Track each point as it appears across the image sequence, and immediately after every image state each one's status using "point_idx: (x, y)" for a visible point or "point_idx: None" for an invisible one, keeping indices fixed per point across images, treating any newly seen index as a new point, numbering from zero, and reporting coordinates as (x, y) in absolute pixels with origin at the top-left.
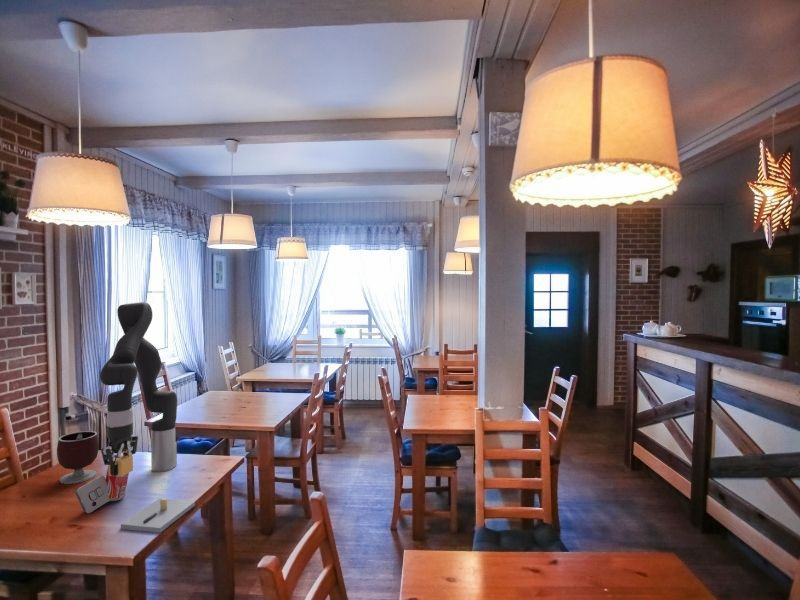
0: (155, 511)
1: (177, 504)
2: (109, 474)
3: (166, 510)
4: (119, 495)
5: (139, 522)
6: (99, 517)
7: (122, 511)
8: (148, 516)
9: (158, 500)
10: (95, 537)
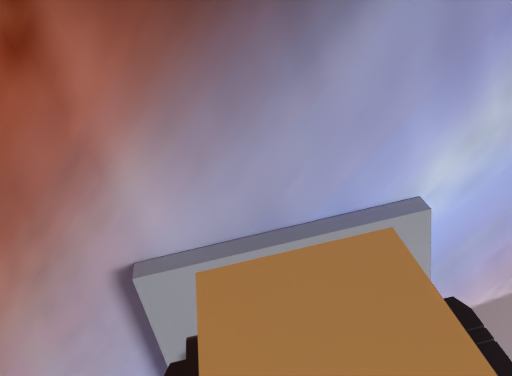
0: None
1: None
2: (200, 292)
3: None
4: None
5: (186, 333)
6: (163, 30)
7: (277, 97)
8: None
9: (409, 223)
10: (13, 231)
